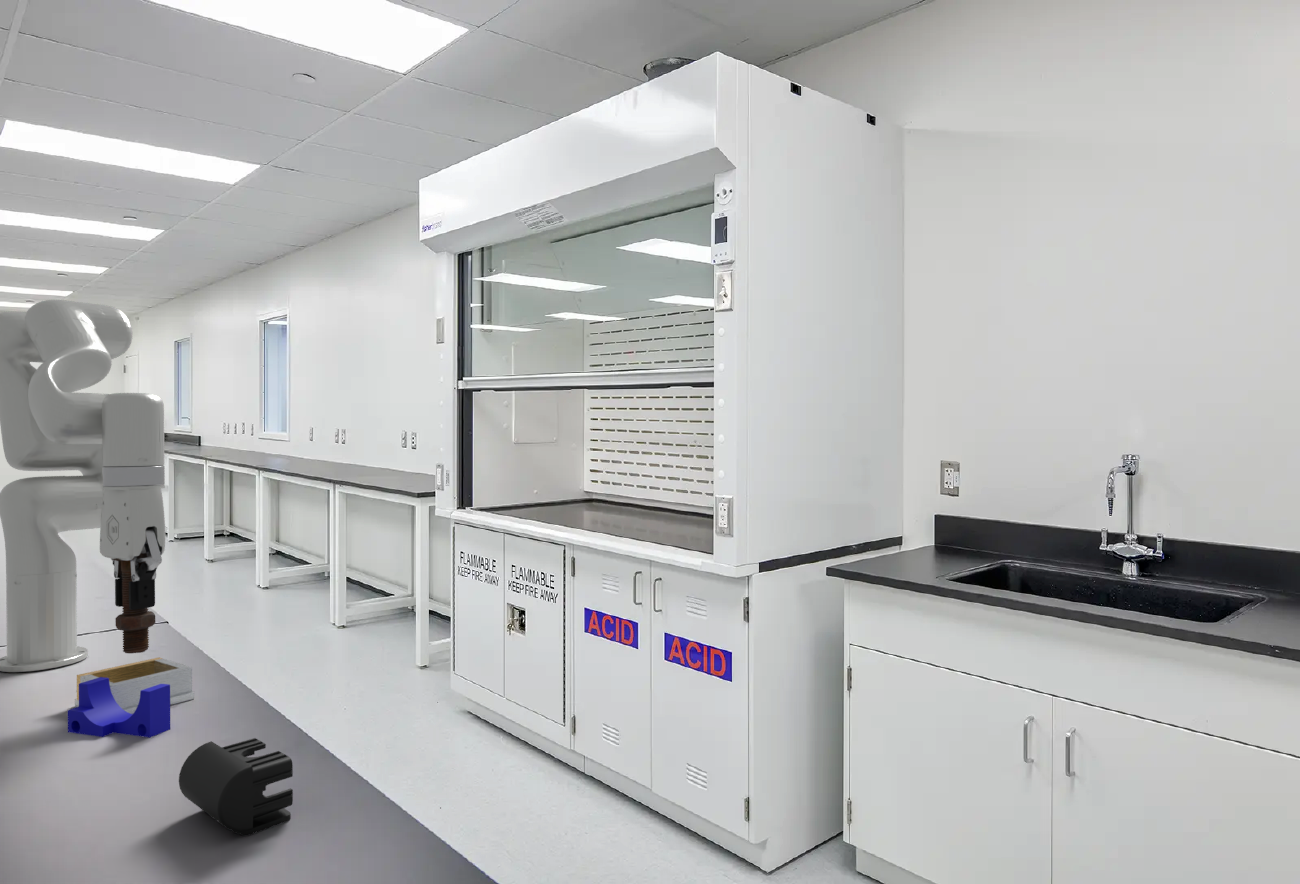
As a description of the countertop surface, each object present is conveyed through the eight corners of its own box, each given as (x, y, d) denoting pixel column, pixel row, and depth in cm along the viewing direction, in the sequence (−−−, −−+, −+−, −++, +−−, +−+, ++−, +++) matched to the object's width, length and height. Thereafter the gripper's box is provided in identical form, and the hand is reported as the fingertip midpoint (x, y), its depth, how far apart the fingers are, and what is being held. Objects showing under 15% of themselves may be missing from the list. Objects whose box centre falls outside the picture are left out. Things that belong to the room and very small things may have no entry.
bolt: (133, 657, 110) (132, 550, 111) (103, 656, 112) (102, 549, 112) (167, 647, 116) (165, 545, 116) (137, 646, 117) (136, 544, 117)
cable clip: (67, 733, 103) (67, 687, 102) (100, 721, 107) (100, 677, 107) (139, 743, 99) (138, 695, 99) (170, 730, 103) (170, 684, 103)
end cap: (178, 817, 79) (177, 749, 79) (251, 792, 85) (250, 729, 85) (218, 850, 73) (218, 776, 73) (295, 821, 78) (294, 753, 78)
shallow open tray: (74, 706, 113) (74, 674, 112) (157, 685, 122) (157, 656, 122) (109, 721, 106) (109, 687, 106) (194, 698, 116) (194, 667, 116)
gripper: (79, 479, 115) (80, 605, 115) (132, 481, 106) (133, 618, 106) (135, 477, 122) (136, 596, 122) (190, 478, 112) (191, 608, 112)
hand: (135, 605), depth 114 cm, fingers closed on bolt, 3 cm apart
